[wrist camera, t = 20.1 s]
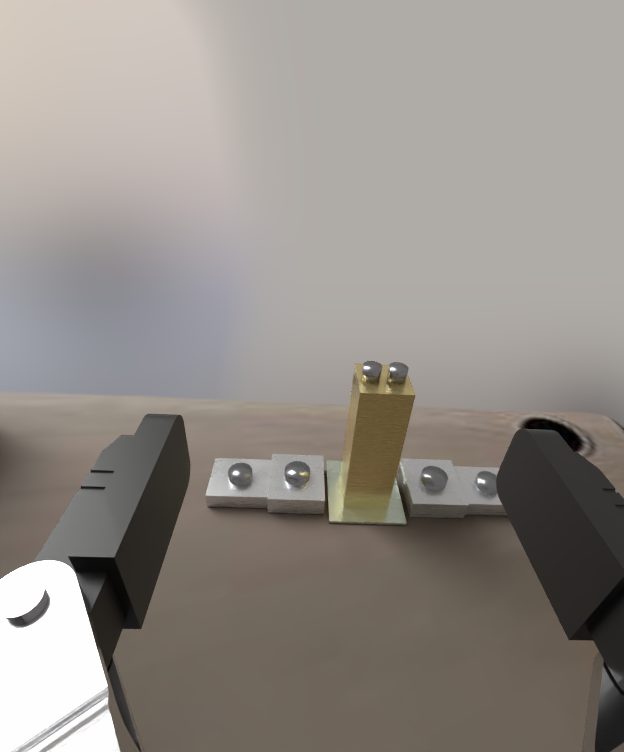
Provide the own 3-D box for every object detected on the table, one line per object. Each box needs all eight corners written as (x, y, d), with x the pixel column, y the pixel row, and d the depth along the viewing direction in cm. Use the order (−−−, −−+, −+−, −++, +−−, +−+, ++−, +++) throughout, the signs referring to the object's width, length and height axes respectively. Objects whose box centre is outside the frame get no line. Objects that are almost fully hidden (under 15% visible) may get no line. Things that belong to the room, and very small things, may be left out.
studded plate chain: (203, 519, 38) (200, 499, 36) (219, 458, 45) (217, 440, 43) (527, 528, 39) (537, 510, 37) (495, 468, 46) (503, 450, 44)
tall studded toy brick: (343, 506, 40) (361, 380, 31) (340, 472, 43) (356, 352, 35) (388, 508, 40) (418, 383, 32) (381, 474, 44) (407, 354, 35)
